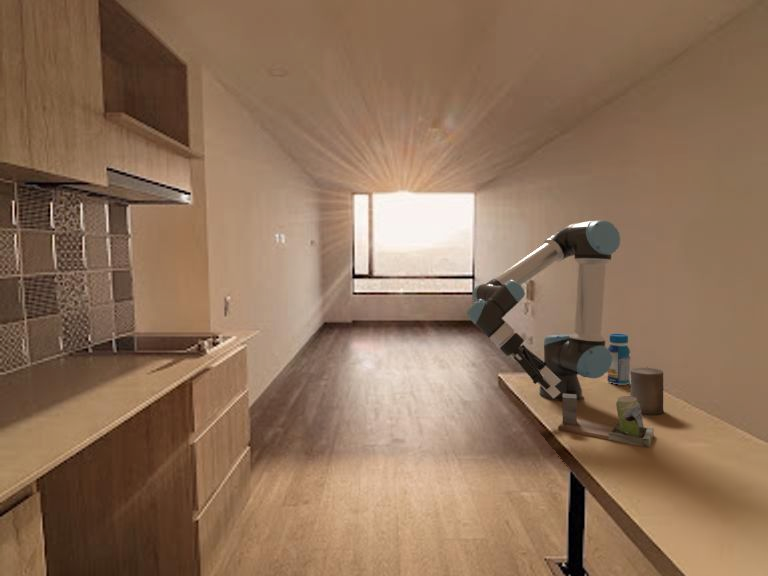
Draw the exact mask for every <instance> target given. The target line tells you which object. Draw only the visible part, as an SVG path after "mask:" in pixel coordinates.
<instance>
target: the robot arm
mask: <svg viewBox="0 0 768 576" xmlns="http://www.w3.org/2000/svg"><path fill="white" fill-rule="evenodd" d="M620 245H621V236H620V232H619V230H618V228H617V227H616V226H615V225H614V224H613V223H612V222H610V221H609V220H605V219H603V220H601V219H600V220H598V219H597V220H589V221H583V222H574V223H571V224H568V225H567V226H565V227H563V228H561V229H560V230H558V231H556V232H555V233H553V234H552V235H551V236H550V237H547V238H545V240H544V241H543V245H541V246H540V247H538V248H536V249H535V250H534V251H532V252H531V253H529V254H527V255H526V256H525V257H523V258H522V259H520V260H519V261H518V262H516V263H514V265H512V266H510V267H509V268H507V269H506V270H504V271H502V272H501V273H499V275H497V276H496V277H494V278H492V279H491V280H489V281H488V282H487V283H481V284H478V285H476V286H475V287H474V289H473V291H472V299H473V301H474V304H473V305H471V306H470V308H469V309H468V310H467V311H466V316H467V317H468V318H469V320H470V321H471V322H472V323H473V325H475V326H476V327H477V328H478V329H479V330H481V332H482V333H484V335H486V336H487V338H489V339H490V343H491V344H494V345H496V347H499V350H500V351H501V352H502V353H503V354H504V355H505V356H506V357H509V356H511V354H512V355H514V356H513V359H514V360H515V361H516V362H517V363H518V364H519V365H520V366H521V368H522V369H523V371H524V372H525V373H526V374H527V375H528V376H529V377H530V379H531V380H532V383H533V384H534V385H536V384H538V385H539V395H540V394H541V395H540V396H542V397H544V398H547V399H550V398H551V399H552V400H555V399H557V401H563V394H574V395H576V396H577V400H579V399H582V397H583V390H582V386H581V384H580V380H579V378H578V375H579V376H581V377H583V378H588V379H593V380H594V379H598V378H601V377H602V376H604V375H605V374H606V373H608V370H609V368H610V366H611V363H612V355H611V353H610V352H609V350H608V348H607V347H606V338H605V337H604V336H603V335H602V326H603V325H602V324H603V313H604V312H603V311H604V297H605V284H606V283H605V282H606V281H605V279H606V266H607V265H608V264H609V263H610V262H611V261H612V255H613V254H614V253H616V251H617V249H619V248H620ZM572 256H573V257H574V261H575V262H576V263H577V264H578V271H577V284H576V285H577V288H576V303H575V315H574V330H573V331H574V332H573V333H571V334H568V333H567V334H566V333H565V334H552V335H550V334H549V335H547V336H545V337H544V339H543V340H544V342H543V355H544V357H543V358H544V359H543V360H542V359H540V358H539V357H538V356H537V355H536V354H535V353H534V352H533V351H531V350H530V349H528V347H526V346H525V345H524V344H523V343H524V342H525V340H524V338H523V337H522V336H521V335H520V334H519V333H518V332H515V329H514V328H513V327H512V326H510V324H509V323H508V322H506V321H505V320H504V319H503V318H504V317H505V316H506V315H507V314H508V313H509V312H510V311H511V310H513V308H514V307H516V306H517V304H519V303H520V301H521V300H522V299H523V298H524V297H525V293H526V292H525V289H524V288H523V287H522V285H523V284H525V283H526V282H528V281H529V280H531V279H532V278H533V277H535V276H537V275H538V274H539V273H541V272H542V271H544V270H546V269H547V268H548V267H549V266H551V265H553V264H554V263H556V262H561V261H563V260H564V259H567V258H569V257H572Z"/></svg>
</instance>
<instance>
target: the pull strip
mask: <svg viewBox="0 0 768 576" xmlns="http://www.w3.org/2000/svg"><path fill="white" fill-rule="evenodd" d="M577 401H578V399H577V396H576V395H574V394H563V400H562V422H561V423H559V425H558V428H557V430H558V431H562V432H567V433H572V434H573V433H574V434H578V435H583V436H588V437H593V438H598V439H604V440H609V441H614V442H620V443H624V444H629V445H635V446H639V447H643V448H650V446H651V443H652V441H653V438H654V428H650V427H646V426H644V432H645V435H644V437H643V438H639V437H634V436H628V435H623V434H621V433H617V432H615V431H620V432H621V430H620V424H619V422H616V421H615V423H614V425H613V424H609V423H603V422H597V421H591V420H586V419H580V418H578V417H577V416H578V413H577V412H578V411H577V409H578V406H577V404H578V402H577Z"/></svg>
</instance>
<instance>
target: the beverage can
mask: <svg viewBox="0 0 768 576" xmlns="http://www.w3.org/2000/svg"><path fill="white" fill-rule="evenodd" d="M615 404H616V405H615V407H616V411H617V412H616V413H617V417H618V423H619V424H620V430H621V431H620V430H619V431H620V434H623V435H628V436H634V437H639V438H643V437H644V435H645V432H644V427H645V426H644V421H643V415H642V414H641V408H640V403H639V401H638V400H637V398H636V397H633V396H631V395H626V396H625V395H623V396H620V397H618V398H617V401H616V403H615Z"/></svg>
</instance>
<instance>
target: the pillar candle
mask: <svg viewBox="0 0 768 576" xmlns="http://www.w3.org/2000/svg"><path fill="white" fill-rule="evenodd" d="M630 396H633V397H636V398H637V400H638V401H639V403H640V408H641V414H643V415H649V416H650V415H654V416H655V415H657V416H658V415H662V414H664V413H665V410H664V371H663V370H661V369H658V368H652V367H648V366H646V367H634V368H630Z"/></svg>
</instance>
